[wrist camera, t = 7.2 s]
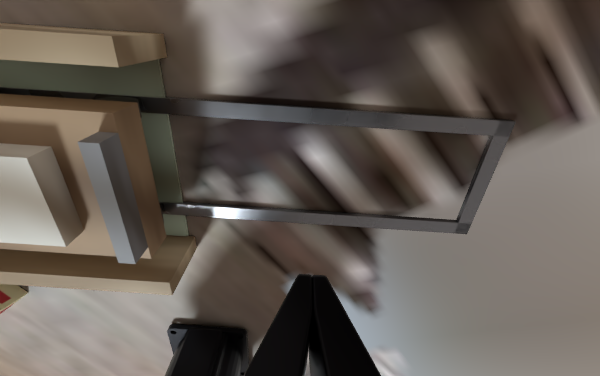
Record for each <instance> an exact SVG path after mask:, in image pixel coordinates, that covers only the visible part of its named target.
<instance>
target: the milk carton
mask: <svg viewBox="0 0 600 376" xmlns="http://www.w3.org/2000/svg"><path fill="white" fill-rule="evenodd" d="M27 293H28V292H27V291H25V290H24V289H22V288H21V287H20V286H18V285H10V284H0V314H1V313H2V312H3V311H5V310H6V309H7V308H9V307H10V306H11V305H13V304H14V303H15V302H17V301H18V300H19V299H21V298H22V297H23V296H25V295H26V294H27Z"/></svg>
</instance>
